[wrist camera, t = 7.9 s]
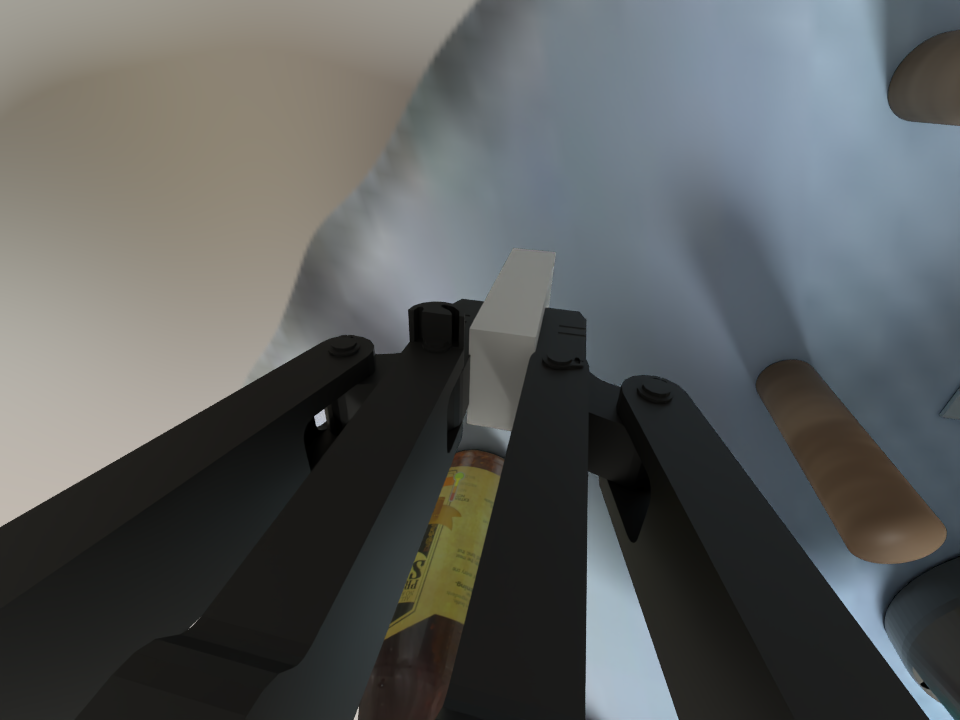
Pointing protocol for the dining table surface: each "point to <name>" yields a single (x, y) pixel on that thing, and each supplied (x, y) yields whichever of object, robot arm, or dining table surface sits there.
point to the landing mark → (952, 407)
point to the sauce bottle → (435, 597)
